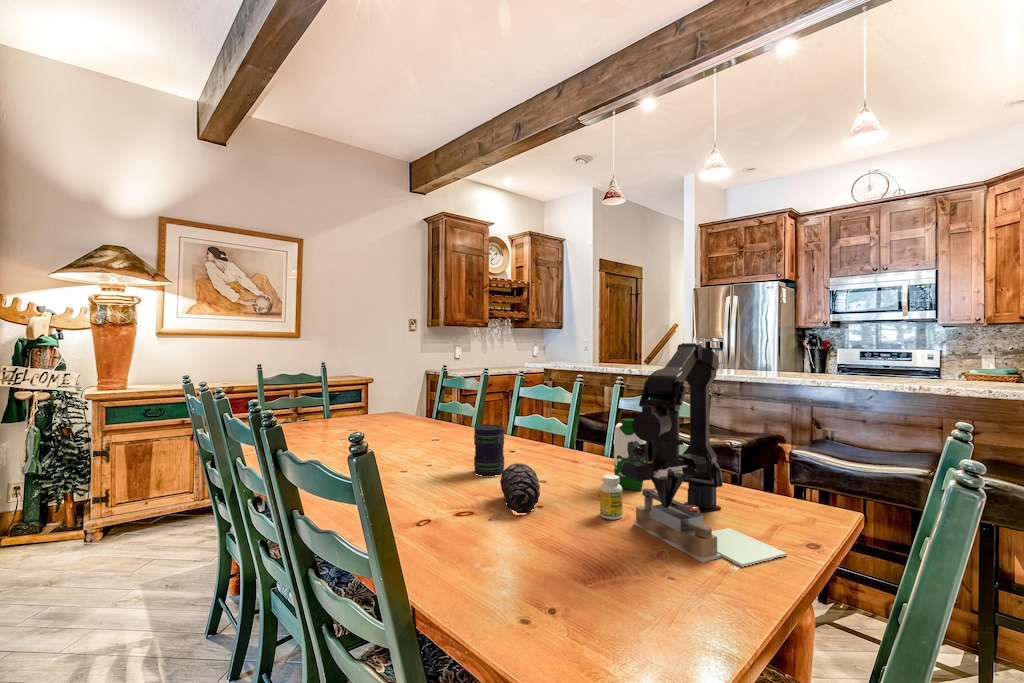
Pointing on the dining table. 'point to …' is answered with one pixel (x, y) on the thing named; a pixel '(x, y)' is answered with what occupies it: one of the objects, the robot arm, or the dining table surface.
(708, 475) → the robot arm
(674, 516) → the flat grey slab block
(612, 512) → the supplement bottle
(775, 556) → the mat
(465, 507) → the dining table surface
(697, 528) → the body
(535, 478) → the pine cone
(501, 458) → the storage jar
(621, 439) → the milk carton
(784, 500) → the dining table surface
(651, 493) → the lever
